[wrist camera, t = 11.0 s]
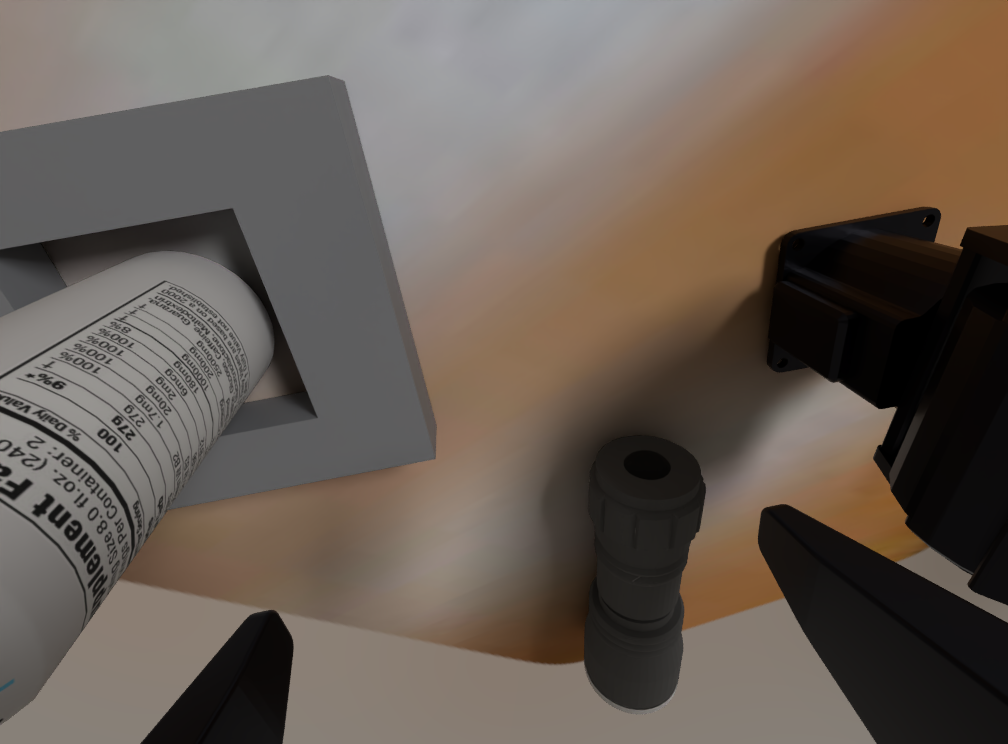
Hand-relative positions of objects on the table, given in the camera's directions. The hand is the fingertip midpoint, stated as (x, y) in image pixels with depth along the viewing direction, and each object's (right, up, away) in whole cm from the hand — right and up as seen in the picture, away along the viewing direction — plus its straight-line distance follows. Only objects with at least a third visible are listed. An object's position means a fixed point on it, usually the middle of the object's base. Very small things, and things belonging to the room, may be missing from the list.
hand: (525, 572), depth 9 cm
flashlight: (+6, -6, +19) cm, 21 cm away
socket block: (-12, +6, +10) cm, 17 cm away
